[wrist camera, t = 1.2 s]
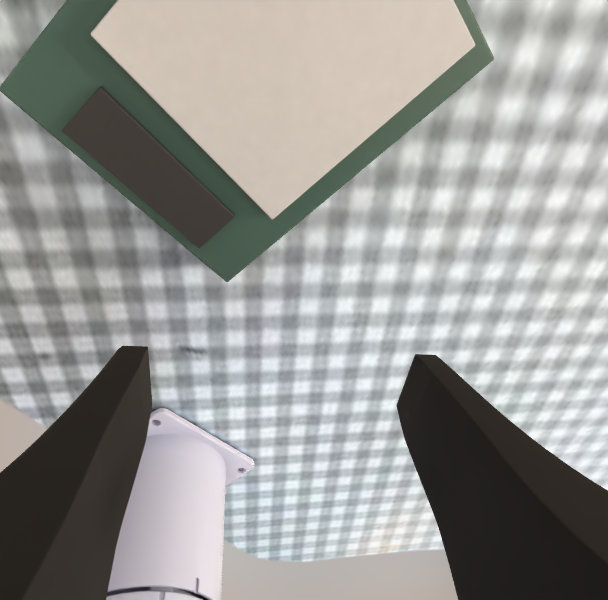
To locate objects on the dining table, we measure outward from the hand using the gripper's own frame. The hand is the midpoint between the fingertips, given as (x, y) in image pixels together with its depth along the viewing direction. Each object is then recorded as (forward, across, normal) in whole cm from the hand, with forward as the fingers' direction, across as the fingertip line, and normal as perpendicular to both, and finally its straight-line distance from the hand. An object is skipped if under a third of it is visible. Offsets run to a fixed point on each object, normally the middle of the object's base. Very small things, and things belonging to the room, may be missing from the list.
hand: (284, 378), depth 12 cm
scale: (+10, +1, -6) cm, 12 cm away
